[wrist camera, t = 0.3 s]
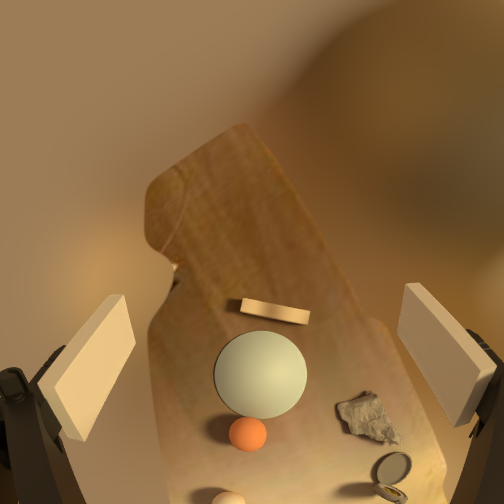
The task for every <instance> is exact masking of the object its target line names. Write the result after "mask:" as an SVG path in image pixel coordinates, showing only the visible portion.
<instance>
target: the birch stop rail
mask: <svg viewBox="0 0 504 504" xmlns="http://www.w3.org/2000/svg"><path fill="white" fill-rule="evenodd" d="M240 311H241V312H242V313H247V314H251V315H256V316H261V317H266V318H271V319H276V320H281V321H286V322H291V323H296V324H301V325H307V324H308V319H309V314H310V311H306V310H301V309H296V308H291V307H286V306H281V305H276V304H271V303H266V302H261V301H256V300H252V299H247V298H243V301H242V306H241V310H240Z"/></svg>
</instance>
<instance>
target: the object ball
mask: <svg viewBox="0 0 504 504" xmlns="http://www.w3.org/2000/svg"><path fill="white" fill-rule="evenodd" d="M266 435H267V433H266V429H265V426H264V425H263V423H262V422H261V421H259V420H258V419H256V418H253V417H242V418H239V419H237V420H236V421H235V422H234V423H233V424H232V425H231V427H230V429H229V439H230V441H231V443H232V444H233V446H234V447H236V448H237V449H239V450H242V451H254V450H256V449H258V448H260V447H261V446H262V445H263V444H264V442H265V440H266Z"/></svg>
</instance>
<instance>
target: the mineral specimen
mask: <svg viewBox="0 0 504 504" xmlns="http://www.w3.org/2000/svg"><path fill="white" fill-rule="evenodd" d="M337 408H338V410H339V412H340V416H341V418H342V419H343V420H344V421H346V422H347V423H348V426H349V429H350V433H352V434H353V435H359V434H362V435H363V434H365V435H367V436H368V437H369V438H371V439H374V440H377V441H384V442H389V445H390V446H392V447H393V446H394V445H395V444H397V445H402V443H403V437H402V436H401V435H400V433H398V432H396V429H394V428H393V426H392V423H391V422H390V420H389V417H388V415H387V414H386V413H385V411H384V409H383V407H382V404H381V401H380V400H379V398H378V396H377V394H374V393H373V392H372V391H368V392H366V393H365V396H363V397H361V398H357V399H354V400H351V401H345V402H341V403H339V404H338V405H337Z"/></svg>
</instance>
